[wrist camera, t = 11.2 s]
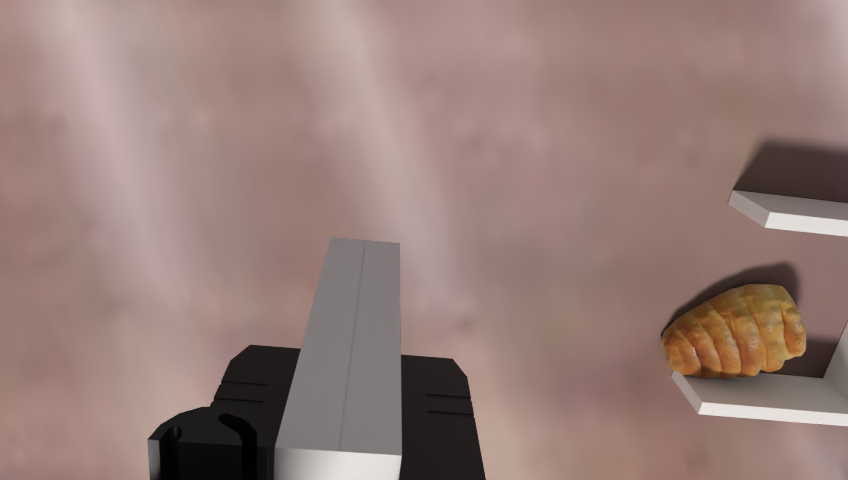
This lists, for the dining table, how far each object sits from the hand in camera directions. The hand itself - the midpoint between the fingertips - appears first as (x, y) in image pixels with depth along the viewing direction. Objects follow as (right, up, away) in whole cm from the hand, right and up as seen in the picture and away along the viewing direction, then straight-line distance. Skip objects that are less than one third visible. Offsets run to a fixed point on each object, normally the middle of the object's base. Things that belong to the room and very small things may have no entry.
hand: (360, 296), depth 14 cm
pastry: (+24, -5, +32) cm, 40 cm away
